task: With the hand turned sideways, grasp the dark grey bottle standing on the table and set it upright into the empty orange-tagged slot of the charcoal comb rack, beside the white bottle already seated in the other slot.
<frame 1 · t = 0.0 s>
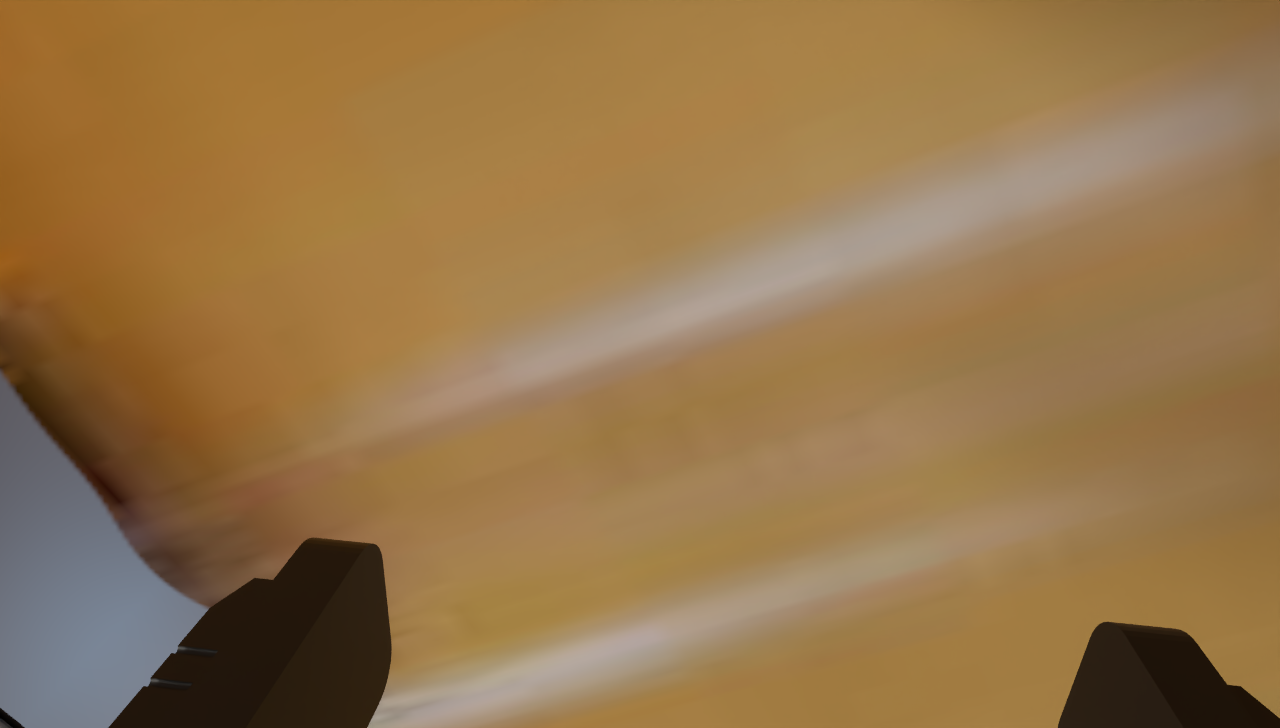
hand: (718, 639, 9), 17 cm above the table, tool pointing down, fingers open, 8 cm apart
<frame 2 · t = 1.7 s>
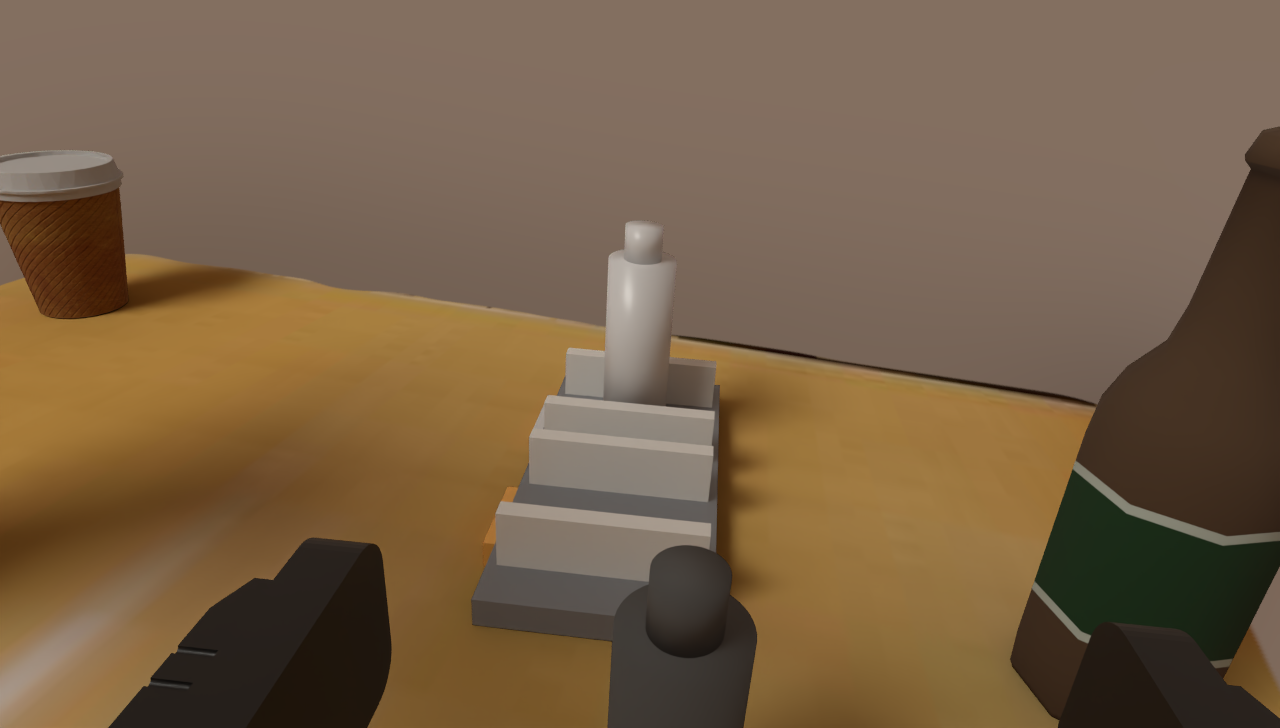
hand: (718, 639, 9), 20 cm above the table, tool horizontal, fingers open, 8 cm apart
disposable coffee cup: (86, 307, 68), on the table
white bottle: (633, 422, 52), point 2 cm above the table, touching comb rack
beer bottle: (1095, 685, 36), on the table
comb rack: (622, 489, 47), on the table
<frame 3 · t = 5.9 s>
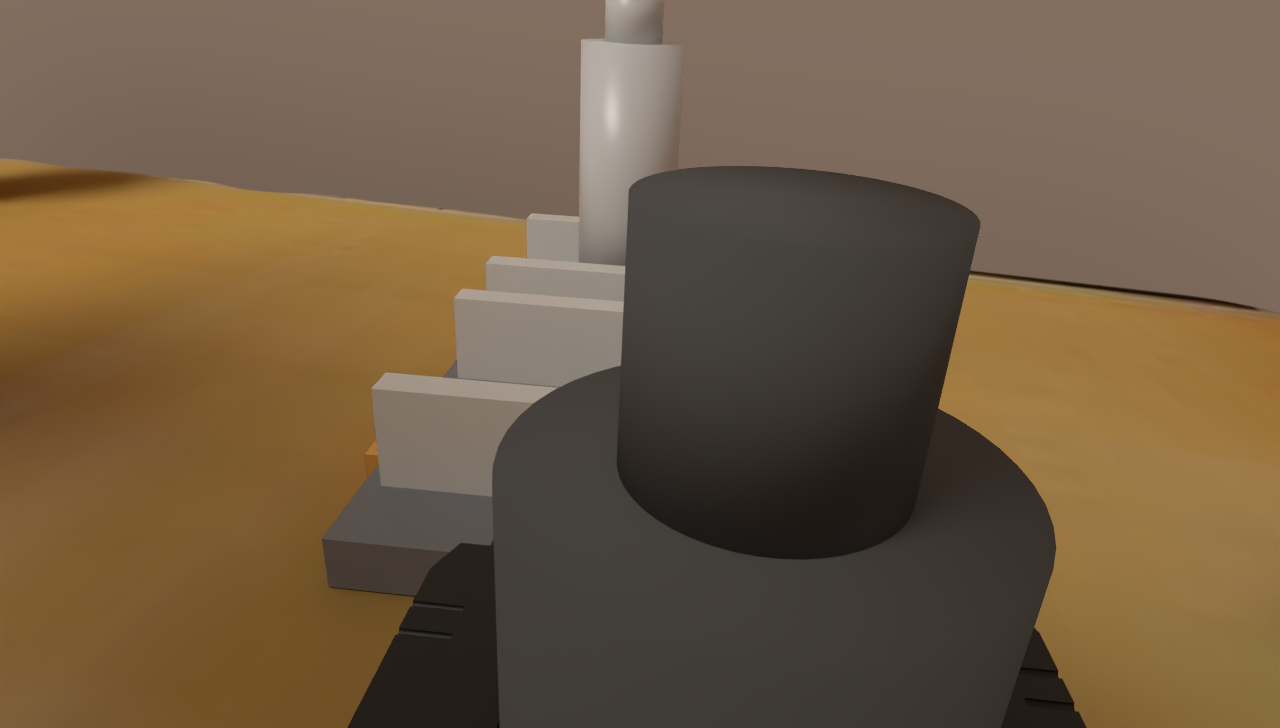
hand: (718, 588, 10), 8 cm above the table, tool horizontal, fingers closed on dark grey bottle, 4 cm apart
white bottle: (623, 310, 35), point 2 cm above the table, touching comb rack
comb rack: (605, 396, 31), on the table
when the fingers open (10 cm above the table, at t = 12.0 s): dark grey bottle drops 1 cm, resting on comb rack.
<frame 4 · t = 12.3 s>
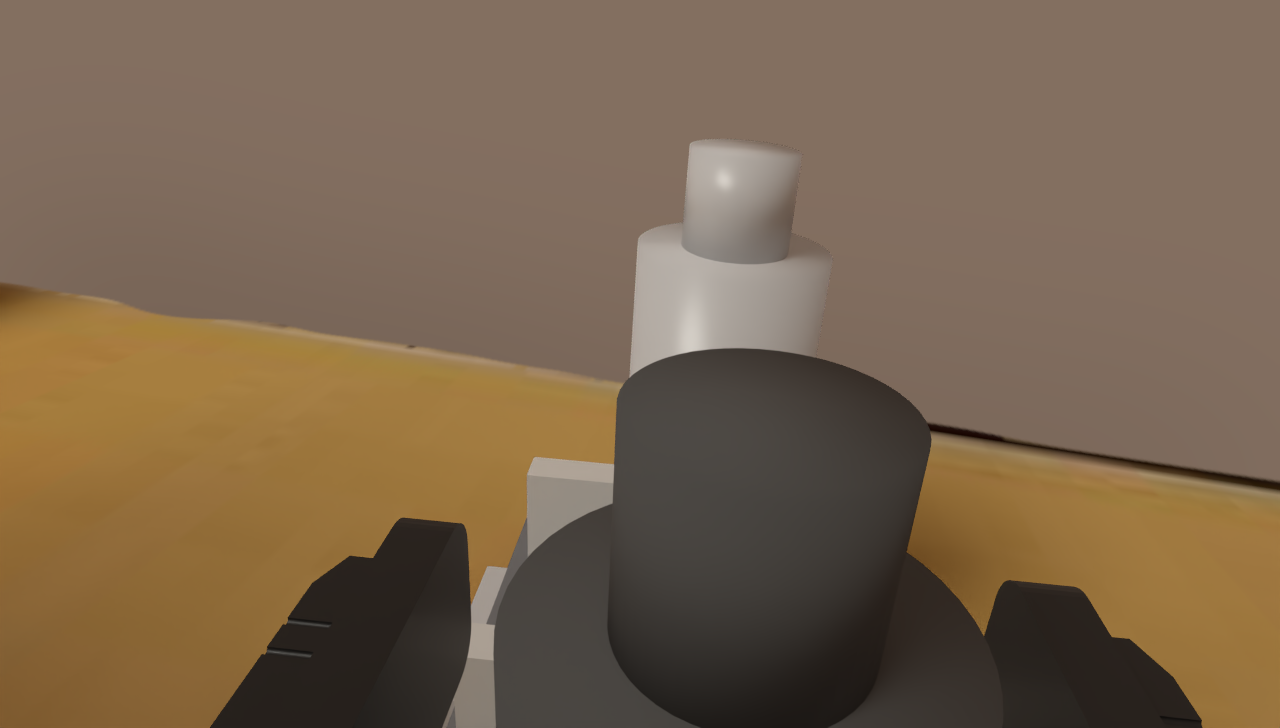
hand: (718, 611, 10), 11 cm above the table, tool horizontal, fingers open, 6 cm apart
white bottle: (688, 649, 21), point 2 cm above the table, touching comb rack
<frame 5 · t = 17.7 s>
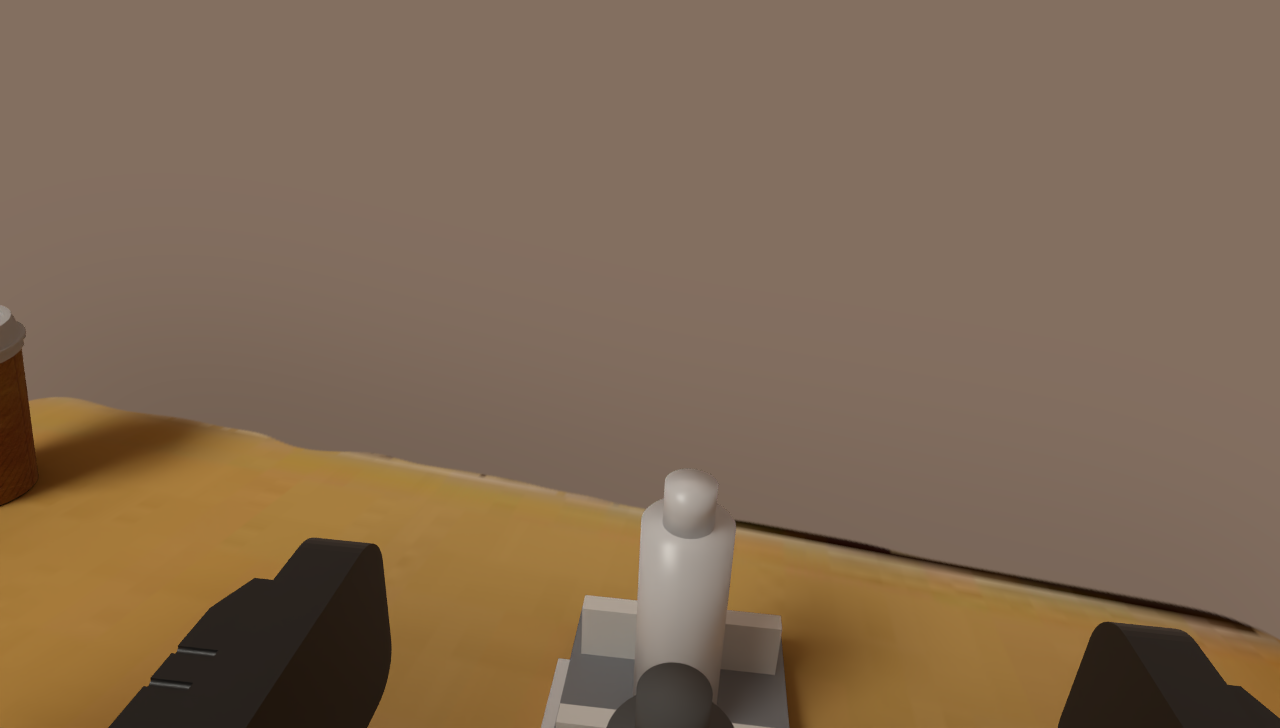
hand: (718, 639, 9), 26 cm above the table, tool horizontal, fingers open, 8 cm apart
white bottle: (673, 710, 38), point 2 cm above the table, touching comb rack
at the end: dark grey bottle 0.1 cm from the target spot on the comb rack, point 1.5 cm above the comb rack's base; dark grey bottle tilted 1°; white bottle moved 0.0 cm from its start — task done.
